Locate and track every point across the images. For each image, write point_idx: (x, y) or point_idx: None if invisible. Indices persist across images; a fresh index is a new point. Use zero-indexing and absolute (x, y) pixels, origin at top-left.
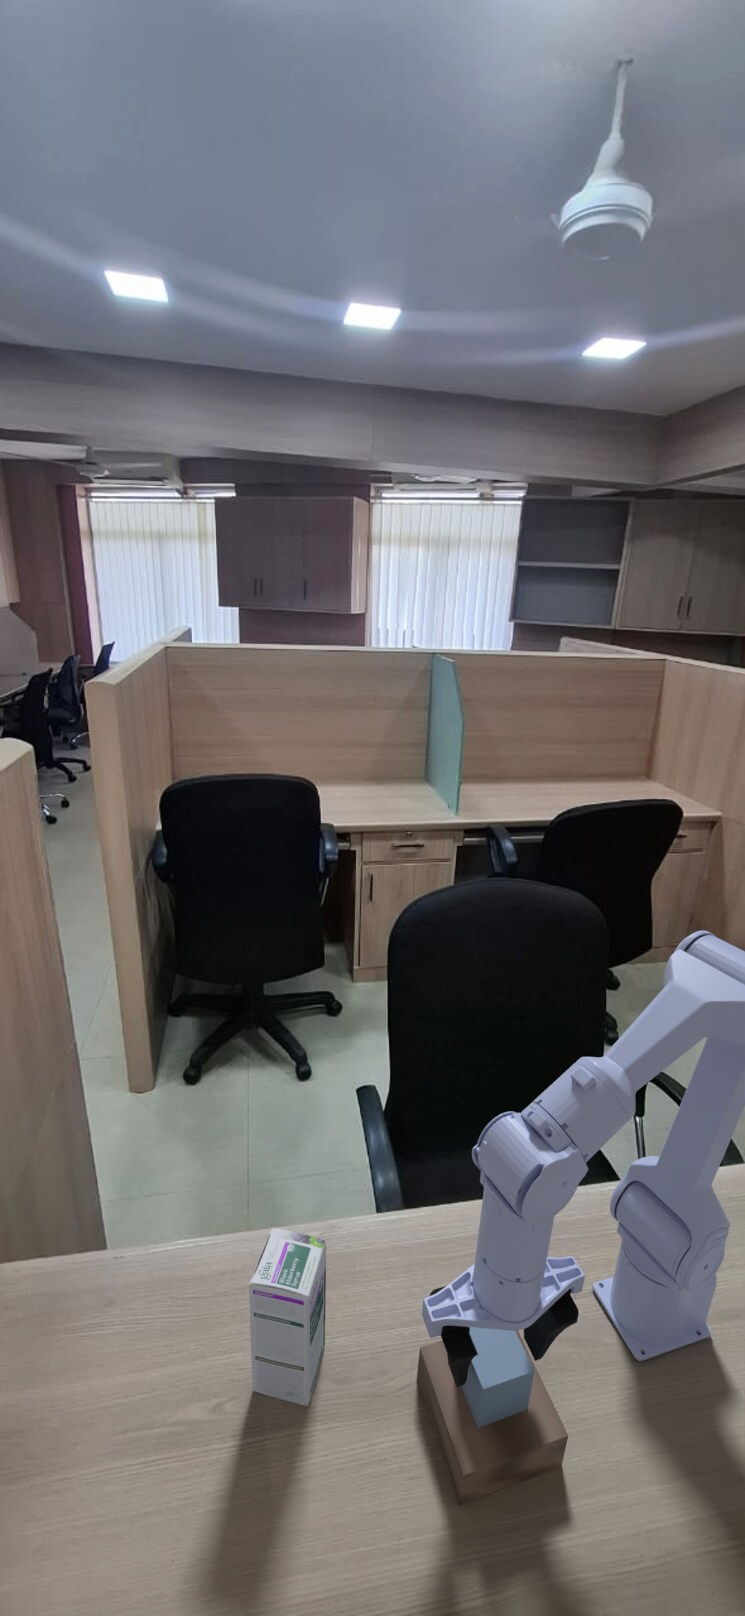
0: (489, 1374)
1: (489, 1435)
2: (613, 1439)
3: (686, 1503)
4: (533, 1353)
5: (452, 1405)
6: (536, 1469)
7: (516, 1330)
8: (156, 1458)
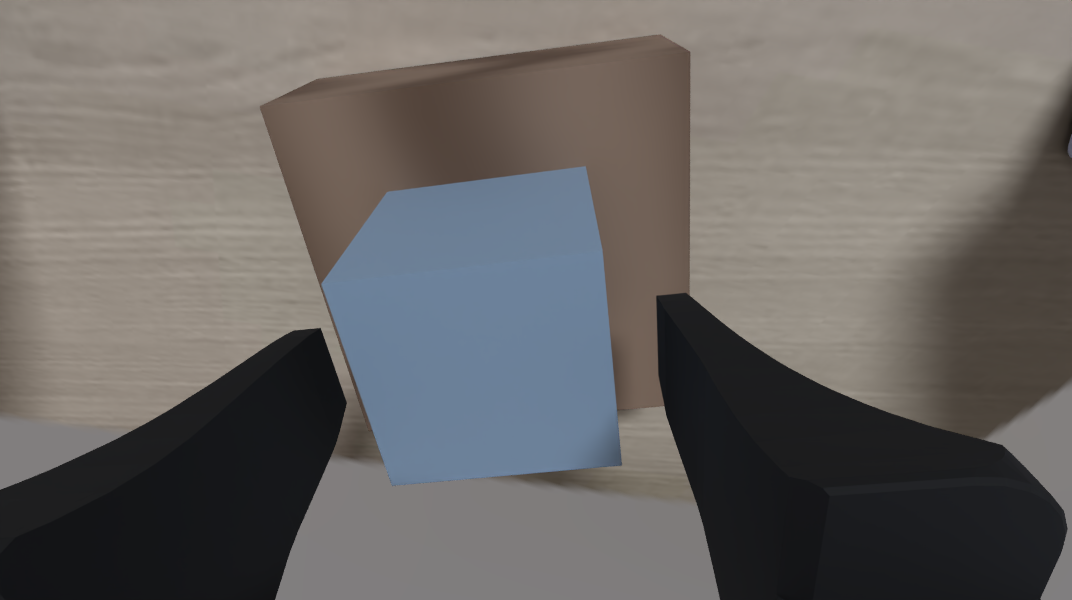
0: (430, 451)
1: None
2: (827, 309)
3: None
4: (661, 373)
5: None
6: None
7: (683, 105)
8: None
